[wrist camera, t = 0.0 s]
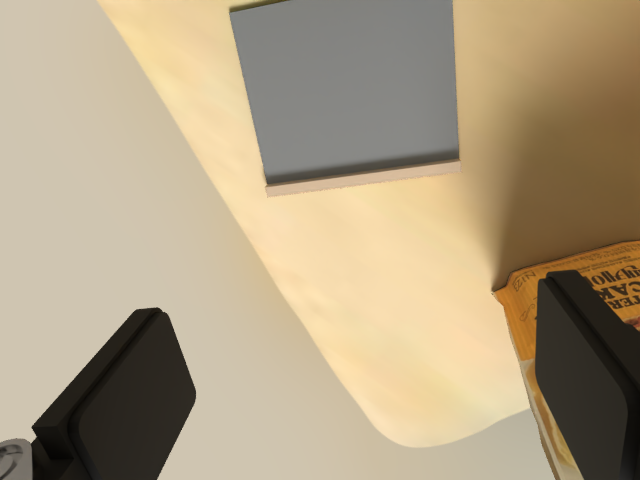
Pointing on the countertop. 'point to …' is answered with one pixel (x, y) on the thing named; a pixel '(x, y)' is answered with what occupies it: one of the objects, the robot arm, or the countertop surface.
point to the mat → (350, 91)
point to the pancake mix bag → (521, 313)
